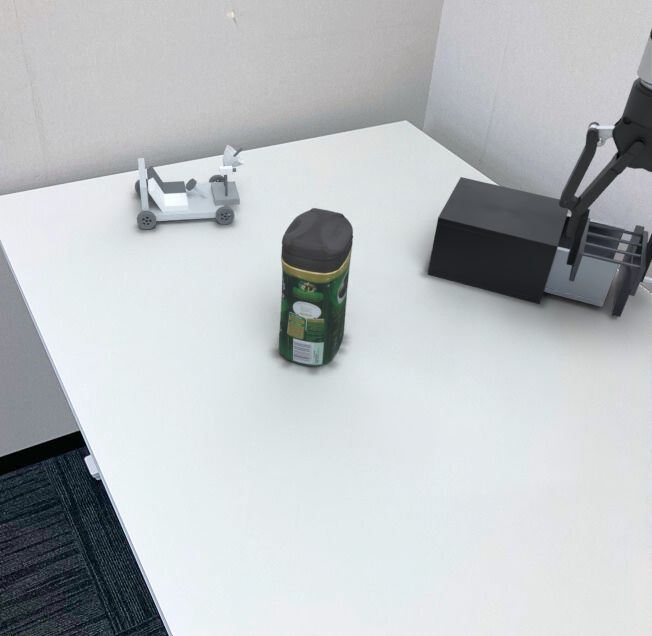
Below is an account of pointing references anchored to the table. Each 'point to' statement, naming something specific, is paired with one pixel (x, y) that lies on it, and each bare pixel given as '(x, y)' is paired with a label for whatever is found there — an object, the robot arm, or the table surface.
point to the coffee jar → (314, 286)
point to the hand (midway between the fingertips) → (604, 267)
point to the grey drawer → (593, 269)
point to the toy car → (188, 195)
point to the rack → (638, 256)
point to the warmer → (497, 239)
